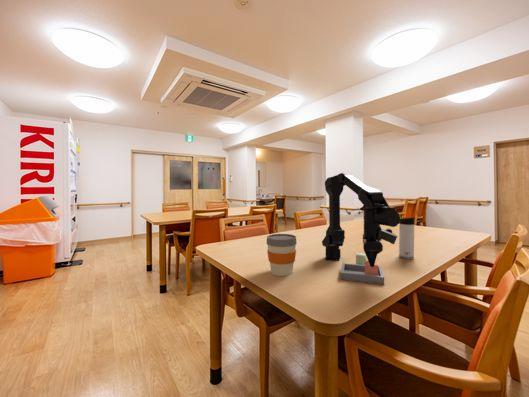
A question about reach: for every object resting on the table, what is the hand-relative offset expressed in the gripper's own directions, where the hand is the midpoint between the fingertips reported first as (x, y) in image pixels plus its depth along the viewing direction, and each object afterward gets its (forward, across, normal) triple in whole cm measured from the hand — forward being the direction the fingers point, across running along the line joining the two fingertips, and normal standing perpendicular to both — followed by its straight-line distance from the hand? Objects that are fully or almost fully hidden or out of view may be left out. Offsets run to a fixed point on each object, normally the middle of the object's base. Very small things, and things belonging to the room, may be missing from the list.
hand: (371, 262), depth 92 cm
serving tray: (+6, 0, +4) cm, 7 cm away
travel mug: (+6, +33, -17) cm, 38 cm away
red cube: (+5, 0, 0) cm, 5 cm away
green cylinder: (+6, +13, +4) cm, 15 cm away
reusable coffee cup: (+6, -6, +35) cm, 36 cm away
